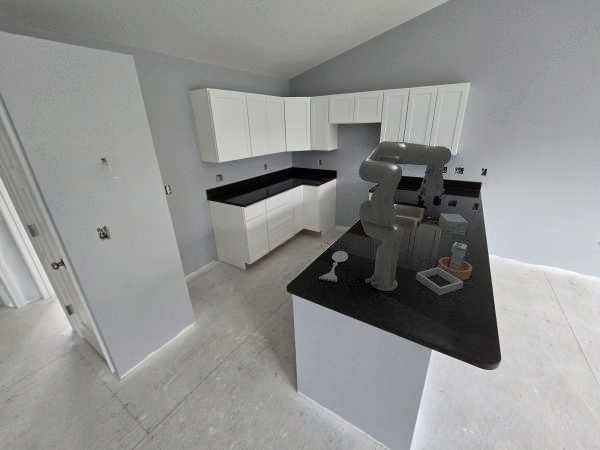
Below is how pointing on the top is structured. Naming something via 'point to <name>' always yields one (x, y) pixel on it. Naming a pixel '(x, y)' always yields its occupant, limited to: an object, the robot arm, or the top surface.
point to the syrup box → (457, 256)
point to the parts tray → (445, 289)
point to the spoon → (337, 257)
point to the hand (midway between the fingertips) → (427, 206)
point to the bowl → (461, 274)
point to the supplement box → (452, 223)
